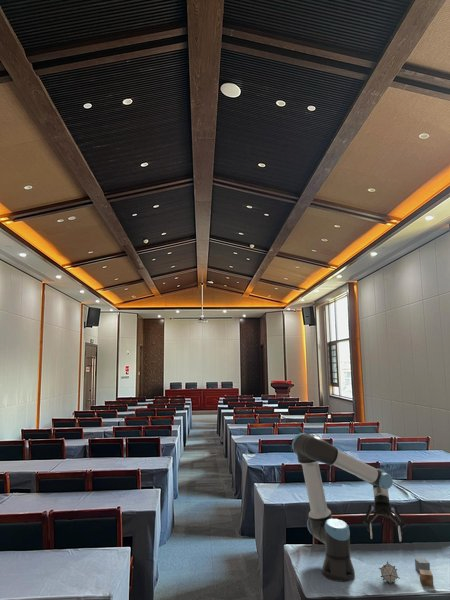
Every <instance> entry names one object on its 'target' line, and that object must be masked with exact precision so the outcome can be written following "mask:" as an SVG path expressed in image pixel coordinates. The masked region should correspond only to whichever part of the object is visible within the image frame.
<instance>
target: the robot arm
mask: <svg viewBox="0 0 450 600" xmlns="http://www.w3.org/2000/svg"><path fill="white" fill-rule="evenodd" d="M291 448H292V451H293V453H294V454H295V455H296V456H297V460H298V463H299V465H301V468H302V472H303V477H304V478H303V479H304V484H305V488H306V493H307V496H308V497H307V498H308V504H309V508H310V511H309V512H308V519H307V521H306V522H307V523H306V526H307V530H308V531H309V533H310V535H312V537H314V538H315V539H316V540H318V541H320V543H322V544H324V545H325V556H324V560H323V564H322V569H321V570H322V575H323V576H324V577H325V578H327V579H328V580H331V581H335V582H349V581H352V580H354V578H355V577H356V575H355V568H354V566H353V562H352V559H351V537H350V536H351V532H350V531H351V530H350V527H349V525H348V524H347V522H345V521H344V520H342V519H338V518H333V516H332V515H333V514H332V510H330V508H328V505H327V501H326V500H327V499H326V494H325V490H324V486H323V481H322V480H323V479H322V475H321V470H320V465H319V463H323V464H325V465H327V466H335V467H336V468H338V469H341V470H343V471H345V472H347V473H349V474H352V475H354V476H356V477H357V478H359V479H360V480H362V481H364V482H366V483H368V484H370V485H371V486H372V489H373V490H372V491H373V497H374V498H373V499H374V506H373V505H372V504H368V509H367V512H366V514H365V515H364V518H363V522H362V523H363V524H364V525H366V528H367V532H369V533H370V539H371V540H373V531H372V529H373V528H372V523H373V522H374V521H375V519H376V518H377V517H378V516H380V517H388V518H389V519H391V521H392V522H394V523H395V525H396V526H397V531H398V532H397V533H398V540H399V542H402V535H403V534H404V532H403V531H404V528H406V525H407V524H406V521H405V520H404V519H403V517H402V515H401V514H400V512H399V511H398V508H397V506H394V507H391V503H390V496H389V489H391V487H392V486H393V483H394V481H393V477H392V475H391V474H389V473H387V472H386V471H385V470H384V469H381V468H376V467H374V466H371V465H369V464H368V463H365V462H363V461H361V460H359V459H357V458H355V457H353V456H351V455H348V454H346V453H344V452H342V451H341V450H339V448H338V447H336V446H335V445H334V444H333V445H332V444H331V443H329V442H328V441H326V440H325V439H323V438H321V437H320V436H316V435H313V434H310V433H308V432H307V433H306V432H302V433H301V432H300V433H298V434H296V435H295V436H294V438H293V439H292V443H291ZM372 511H374V513H373V514H372V515H371V513H372ZM392 512H393V513H394V514H393V513H392ZM370 515H371V516H370ZM369 517H370V518H369Z"/></svg>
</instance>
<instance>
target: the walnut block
mask: <svg viewBox="0 0 450 600" xmlns="http://www.w3.org/2000/svg"><path fill="white" fill-rule="evenodd" d="M418 574H419V582H420V585H421V586H422V587H428V588H429V587H430V588H434V575H433V573H432V571H431V569H430V570H421V569H419V572H418Z"/></svg>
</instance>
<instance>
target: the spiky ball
mask: <svg viewBox="0 0 450 600" xmlns="http://www.w3.org/2000/svg"><path fill="white" fill-rule="evenodd" d="M378 569H379V570H380V573H381V576H380V578H382V581H386V582H387V583H389V586H392V583H393V582H396V580H397V579H400V577H399V575H398V569H397V568H396V565H394V566H393V564H392V565H391V563H389V562H388V561H386V564H383V566H382V567H378Z"/></svg>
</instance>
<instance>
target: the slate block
mask: <svg viewBox="0 0 450 600" xmlns="http://www.w3.org/2000/svg"><path fill="white" fill-rule="evenodd" d="M414 565H415V566H414V567H415V570H416V571H417V572H418V573H419V569H421V570H430V571H431V567H430V566H431V565H430V562H429V561H428V560H427V559H426V558H425V557H424V558H423V557H422V558H417V557H416V558H414Z"/></svg>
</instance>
